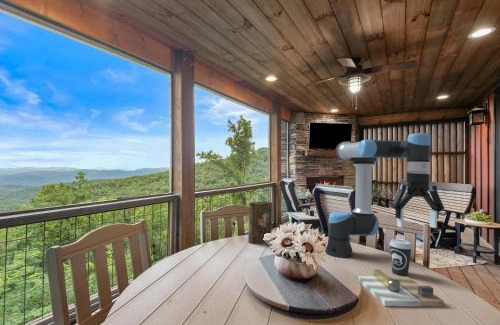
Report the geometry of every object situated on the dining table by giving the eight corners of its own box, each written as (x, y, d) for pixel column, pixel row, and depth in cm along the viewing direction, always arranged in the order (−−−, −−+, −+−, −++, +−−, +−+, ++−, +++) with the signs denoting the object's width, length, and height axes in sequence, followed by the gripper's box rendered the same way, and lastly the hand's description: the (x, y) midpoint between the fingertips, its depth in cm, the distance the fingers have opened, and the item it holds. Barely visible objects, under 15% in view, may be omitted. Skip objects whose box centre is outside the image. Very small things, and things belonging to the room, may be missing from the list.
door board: (358, 280, 113) (358, 269, 113) (407, 281, 114) (407, 269, 114) (384, 306, 93) (384, 292, 93) (443, 306, 94) (443, 292, 94)
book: (252, 244, 160) (253, 204, 160) (246, 242, 164) (248, 202, 164) (271, 239, 171) (272, 202, 171) (265, 237, 175) (266, 201, 175)
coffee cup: (415, 278, 116) (416, 245, 117) (392, 276, 118) (393, 243, 119) (407, 270, 126) (407, 239, 126) (385, 268, 128) (386, 237, 128)
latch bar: (372, 275, 113) (372, 268, 113) (381, 275, 113) (381, 268, 113) (391, 291, 98) (392, 283, 98) (402, 291, 99) (402, 283, 99)
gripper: (393, 172, 97) (391, 229, 96) (456, 174, 98) (455, 229, 98) (381, 171, 104) (380, 224, 104) (440, 173, 106) (439, 225, 105)
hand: (416, 227), depth 101 cm, fingers open, 13 cm apart
